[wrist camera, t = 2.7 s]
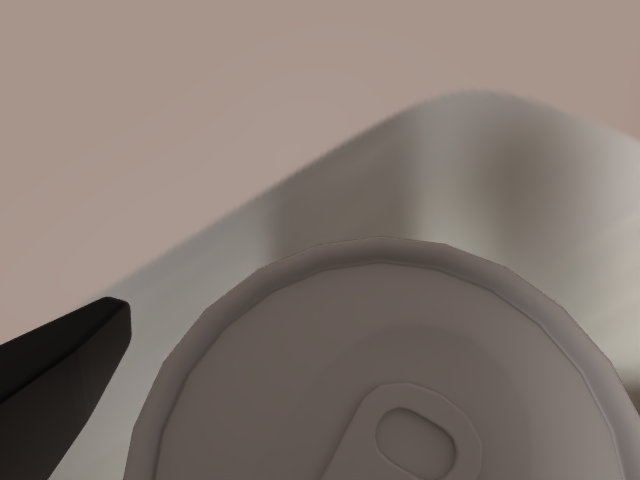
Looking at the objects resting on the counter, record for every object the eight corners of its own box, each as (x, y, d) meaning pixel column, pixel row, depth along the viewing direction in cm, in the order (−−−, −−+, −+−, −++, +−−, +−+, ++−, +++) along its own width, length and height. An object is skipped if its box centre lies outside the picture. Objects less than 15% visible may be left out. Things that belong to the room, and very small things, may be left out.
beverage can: (242, 417, 16) (-18, 621, 4) (318, 285, 17) (286, 132, 5) (377, 501, 15) (535, 1028, 3) (449, 359, 16) (773, 391, 4)
